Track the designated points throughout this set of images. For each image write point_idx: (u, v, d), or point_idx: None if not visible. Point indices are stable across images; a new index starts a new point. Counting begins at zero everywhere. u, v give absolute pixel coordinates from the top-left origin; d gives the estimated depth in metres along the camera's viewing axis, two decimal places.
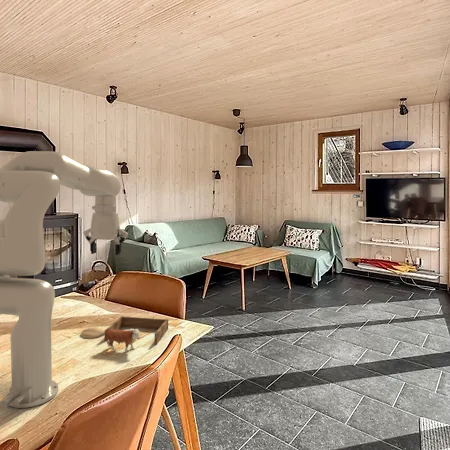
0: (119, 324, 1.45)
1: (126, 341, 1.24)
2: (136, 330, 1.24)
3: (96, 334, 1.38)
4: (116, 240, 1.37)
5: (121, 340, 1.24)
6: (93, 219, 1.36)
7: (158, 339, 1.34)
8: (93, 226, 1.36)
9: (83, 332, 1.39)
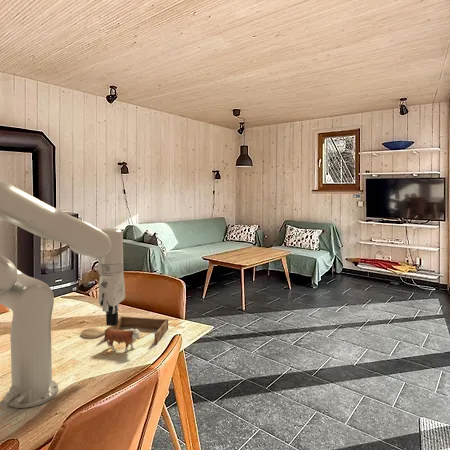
0: (119, 324, 1.45)
1: (126, 341, 1.24)
2: (136, 330, 1.24)
3: (96, 334, 1.38)
4: (117, 305, 1.16)
5: (121, 340, 1.24)
6: (114, 283, 1.10)
7: (158, 339, 1.34)
8: (114, 291, 1.10)
9: (83, 332, 1.39)
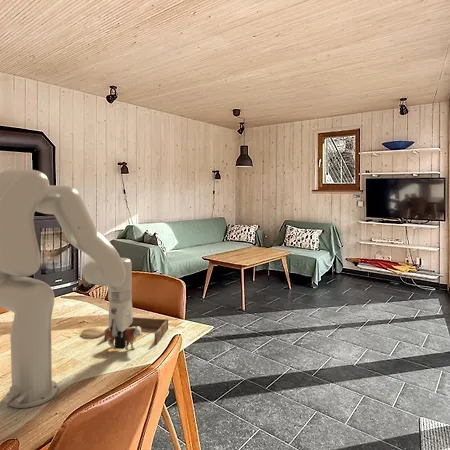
0: None
1: (127, 338, 1.25)
2: (138, 327, 1.26)
3: (96, 334, 1.38)
4: (125, 329, 1.24)
5: None
6: (123, 309, 1.18)
7: (158, 339, 1.34)
8: (123, 317, 1.18)
9: (83, 332, 1.39)
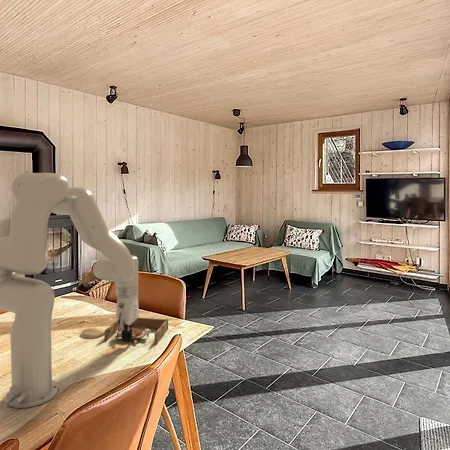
0: (119, 324, 1.45)
1: (136, 331, 1.35)
2: None
3: (96, 334, 1.38)
4: (132, 324, 1.30)
5: (132, 329, 1.35)
6: (130, 304, 1.24)
7: (158, 339, 1.34)
8: (130, 311, 1.24)
9: (83, 332, 1.39)
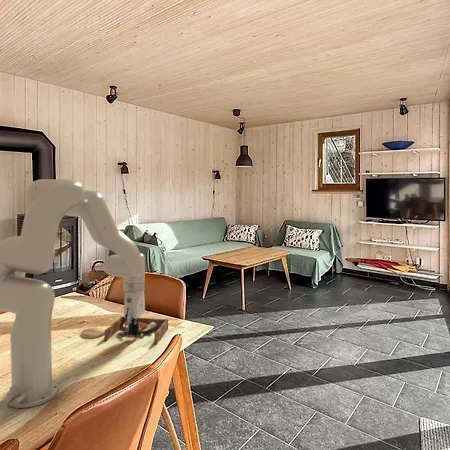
0: (119, 324, 1.45)
1: (142, 324, 1.41)
2: None
3: (96, 334, 1.38)
4: (138, 318, 1.37)
5: None
6: (137, 299, 1.31)
7: (158, 339, 1.34)
8: (137, 306, 1.31)
9: (83, 332, 1.39)
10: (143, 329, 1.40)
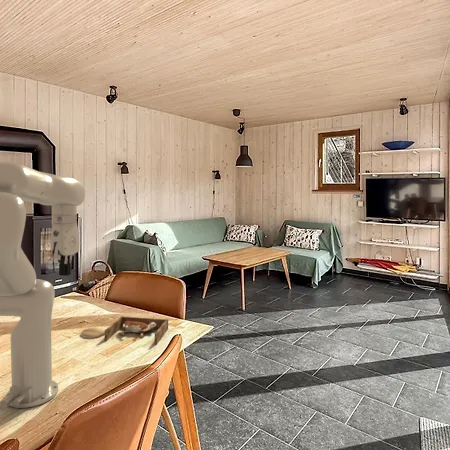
0: (119, 324, 1.45)
1: (142, 324, 1.41)
2: None
3: (96, 334, 1.38)
4: (70, 257, 1.21)
5: (138, 323, 1.42)
6: (65, 232, 1.15)
7: (158, 339, 1.34)
8: (66, 241, 1.15)
9: (83, 332, 1.39)
10: (143, 329, 1.40)
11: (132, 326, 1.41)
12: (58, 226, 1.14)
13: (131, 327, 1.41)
